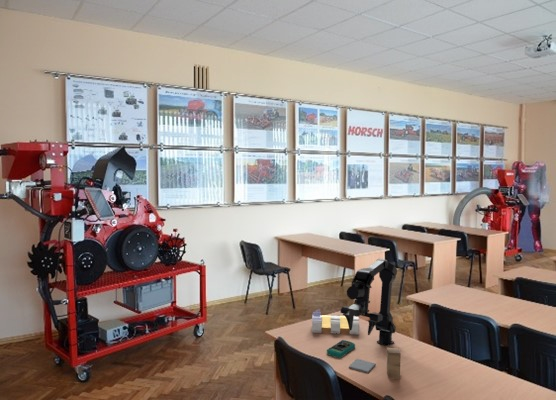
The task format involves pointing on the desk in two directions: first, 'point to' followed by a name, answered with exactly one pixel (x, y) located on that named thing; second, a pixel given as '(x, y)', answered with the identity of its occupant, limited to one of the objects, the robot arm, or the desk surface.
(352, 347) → the digital multimeter
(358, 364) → the grey pad
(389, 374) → the walnut block
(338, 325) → the grey yellow long block
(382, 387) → the desk surface
